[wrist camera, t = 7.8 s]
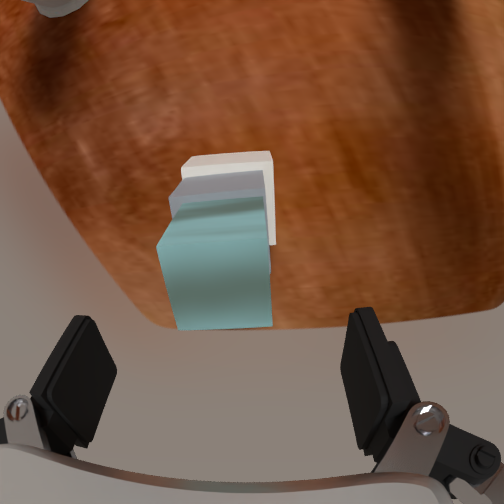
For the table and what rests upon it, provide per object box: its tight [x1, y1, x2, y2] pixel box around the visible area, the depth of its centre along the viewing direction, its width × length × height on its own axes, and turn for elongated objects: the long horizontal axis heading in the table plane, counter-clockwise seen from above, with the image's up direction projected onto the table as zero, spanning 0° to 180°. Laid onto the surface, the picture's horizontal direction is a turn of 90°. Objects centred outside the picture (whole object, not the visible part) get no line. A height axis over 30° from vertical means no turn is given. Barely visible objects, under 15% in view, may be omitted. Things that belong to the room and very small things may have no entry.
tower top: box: [169, 170, 271, 273], centre depth 22 cm, size 6×6×5 cm
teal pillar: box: [156, 196, 273, 330], centre depth 17 cm, size 5×5×6 cm
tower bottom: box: [181, 151, 276, 245], centre depth 27 cm, size 7×7×5 cm
